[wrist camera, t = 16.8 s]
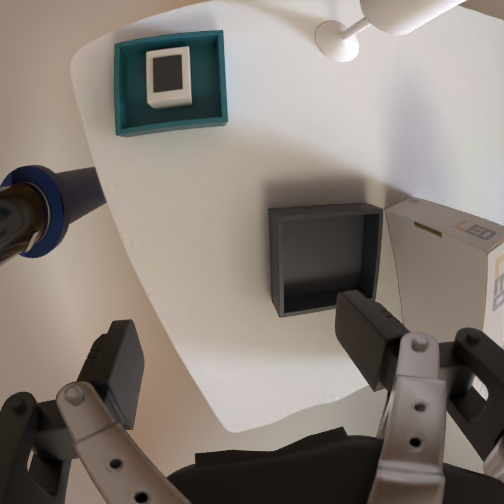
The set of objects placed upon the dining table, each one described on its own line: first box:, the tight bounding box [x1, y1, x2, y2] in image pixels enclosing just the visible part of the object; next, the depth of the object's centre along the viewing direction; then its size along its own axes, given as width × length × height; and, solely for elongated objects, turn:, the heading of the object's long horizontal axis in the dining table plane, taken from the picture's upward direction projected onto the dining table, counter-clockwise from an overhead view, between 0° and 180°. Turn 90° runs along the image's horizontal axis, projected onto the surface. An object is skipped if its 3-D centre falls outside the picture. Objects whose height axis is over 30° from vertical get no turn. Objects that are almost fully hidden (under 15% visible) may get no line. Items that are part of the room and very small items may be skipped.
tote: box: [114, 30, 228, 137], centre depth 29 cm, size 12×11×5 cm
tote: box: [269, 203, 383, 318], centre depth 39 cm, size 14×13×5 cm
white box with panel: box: [146, 46, 192, 110], centre depth 28 cm, size 4×6×6 cm
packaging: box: [385, 197, 504, 399], centre depth 37 cm, size 30×6×20 cm, turn 21°
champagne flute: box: [315, 0, 465, 62], centre depth 21 cm, size 7×7×24 cm
